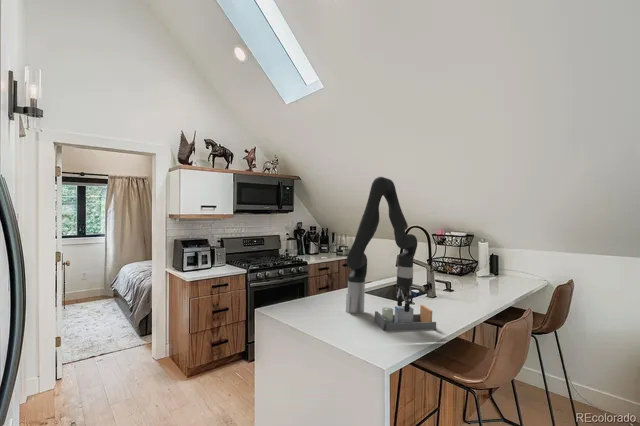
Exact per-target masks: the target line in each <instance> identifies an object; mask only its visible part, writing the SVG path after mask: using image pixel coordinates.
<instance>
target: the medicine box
mask: <svg viewBox="0 0 640 426" xmlns="http://www.w3.org/2000/svg"><path fill="white" fill-rule="evenodd" d="M404 308H405V305H402V306H398V305H397V306H396V305H395V306H394V315H395V320H394V323H413V314H414V311H415V309H414V308H413V307H412V306H410V309H409V312H405V311H404Z"/></svg>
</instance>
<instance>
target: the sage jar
mask: <svg viewBox="0 0 640 426" xmlns="http://www.w3.org/2000/svg"><path fill="white" fill-rule="evenodd" d="M381 315H382V316H383V317H384V318H385V319H386V320H387V323H393V315H394V308H392V307H382V313H381Z"/></svg>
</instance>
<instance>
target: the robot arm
mask: <svg viewBox="0 0 640 426" xmlns="http://www.w3.org/2000/svg"><path fill="white" fill-rule="evenodd" d="M395 185H396V184H395V183H394V181H393V180H392V179H389V178H387V177H384V176H377V177H375V178H374V179H373V181H372V183H371V186H370V190H369V195H368V198H367V202H366V205H365V208H364V211H363V214H362V216H361V220H360V223H359V226H358V229H357V231H356V234H355V238H354V241H353V243H352V246H351V248H350V250H349V252H348V253H347V256H346V265H347V267H348V269H350V272H349V274H348V276H347V293H346V296H345V297H346V299H345V301H346V302H345V304H346V305H345V312H346V313H347V314H355V315H360V314H361V315H362V314H364V313H365V296H366V295H365V291H366V277H367V273H368V257H367V255H366V254H365V252H366V249H367V246H368V245H369V243H370V242H371V240H372V239H373V238H374V236H375V234H376V231H377V229H378V227H379V223H380V203H381V201H382V197H383V198H384V199H385V201H386V203H387V207H388V218H389V221H390V223H391V225H392V229H393V234H394V241H395V244H396V246H397V247H398V249H401V250H403V252H401V253H400V254H399V255H398V258H397V259H398V261H397V262H398V263H397V269H396V286H395V287H396V288H395V296H396V298H397V301H396V303H397V306H403V301H404V306H405V308H404V311H405V312H409V309H410V307H411V304H412V305H413V302H414V301H413V299H414V298H413V296H414V295H413V293H414V292H413V290H410V287H411V288H412V287H413V282H414V281H413V280H414V258H415V255H416V252H417V249H418V238H417V237H416V236H415V234H412V233H411V234H410V233H409V234H406V230H407V229H408V227H409V225H408V223H407V220H406V218H405V216H404V213H403V211H402V208H401V206H400V202H399V198H398V194H397V189H396V186H395Z"/></svg>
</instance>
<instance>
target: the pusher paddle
mask: <svg viewBox="0 0 640 426" xmlns="http://www.w3.org/2000/svg"><path fill="white" fill-rule="evenodd" d="M419 306H420V308H419V309H420V310H419V314H420V321H421V322H433V310H432V309H430V308H428V307H427V306H425V305H423V304H420V305H419Z"/></svg>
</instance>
